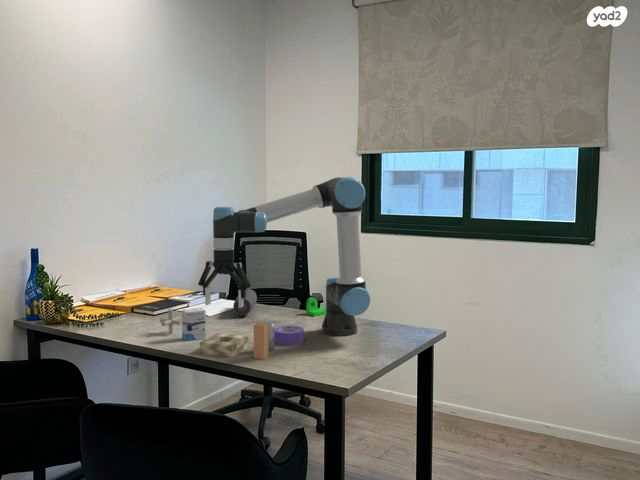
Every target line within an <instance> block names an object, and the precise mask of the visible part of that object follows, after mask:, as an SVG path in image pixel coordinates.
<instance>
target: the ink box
mask: <svg viewBox="0 0 640 480" xmlns="http://www.w3.org/2000/svg"><path fill="white" fill-rule="evenodd" d="M206 312H207V311H206V310H205V308H203V307H197V308H185V309H181V321H182V324H181V337H182V339H183V340H184V341H185V342H189V341H197V340H206V339H207V333H206V332H207V329H206V327H207V326H206V321H207V320H206V319H207V318H206V314H207V313H206Z"/></svg>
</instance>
